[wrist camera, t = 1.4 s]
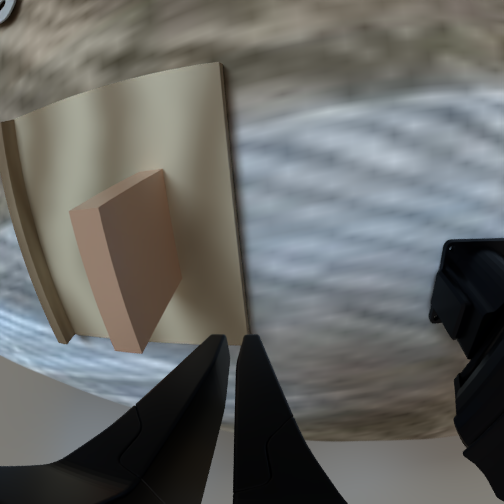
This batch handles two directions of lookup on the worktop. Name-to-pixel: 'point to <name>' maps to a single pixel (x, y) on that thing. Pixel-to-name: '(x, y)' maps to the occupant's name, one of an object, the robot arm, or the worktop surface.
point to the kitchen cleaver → (6, 9)
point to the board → (114, 171)
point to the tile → (129, 256)
